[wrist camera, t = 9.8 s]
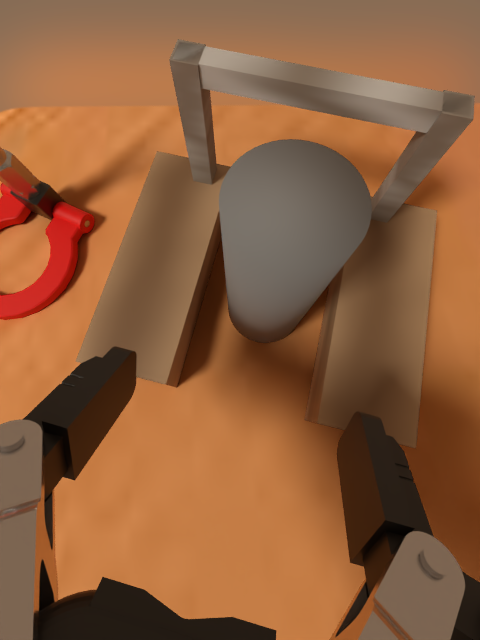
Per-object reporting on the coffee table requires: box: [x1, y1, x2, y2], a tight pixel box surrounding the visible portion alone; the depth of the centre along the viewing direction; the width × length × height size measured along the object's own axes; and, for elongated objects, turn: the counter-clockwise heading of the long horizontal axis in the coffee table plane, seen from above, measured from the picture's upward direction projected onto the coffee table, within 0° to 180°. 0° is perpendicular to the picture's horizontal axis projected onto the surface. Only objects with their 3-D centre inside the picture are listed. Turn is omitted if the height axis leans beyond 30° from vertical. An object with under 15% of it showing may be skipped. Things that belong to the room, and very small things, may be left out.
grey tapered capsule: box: [219, 139, 372, 343], centre depth 15 cm, size 5×5×11 cm
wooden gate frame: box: [76, 39, 475, 448], centre depth 16 cm, size 18×14×10 cm
